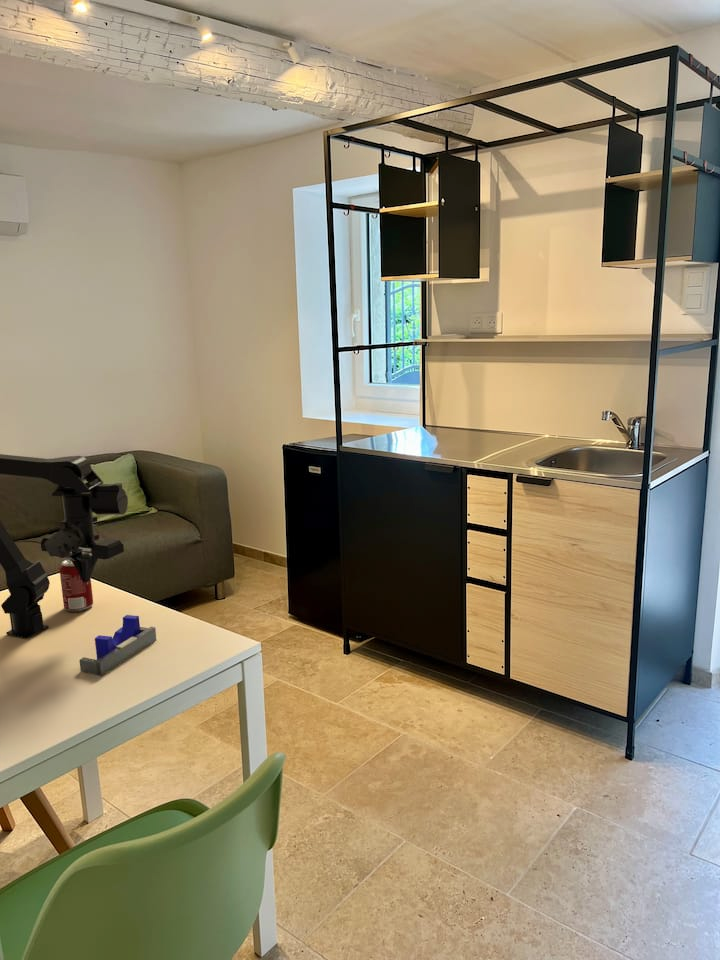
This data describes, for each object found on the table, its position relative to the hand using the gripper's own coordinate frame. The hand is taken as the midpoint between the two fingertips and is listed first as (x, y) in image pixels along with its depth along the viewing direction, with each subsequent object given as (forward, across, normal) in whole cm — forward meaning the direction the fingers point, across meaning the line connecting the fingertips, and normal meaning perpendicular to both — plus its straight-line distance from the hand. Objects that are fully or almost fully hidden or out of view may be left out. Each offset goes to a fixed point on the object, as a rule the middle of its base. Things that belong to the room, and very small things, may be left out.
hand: (86, 582), depth 163 cm
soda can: (+12, -13, +10) cm, 21 cm away
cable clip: (+12, +12, -6) cm, 18 cm away
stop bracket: (+12, +14, -7) cm, 20 cm away
